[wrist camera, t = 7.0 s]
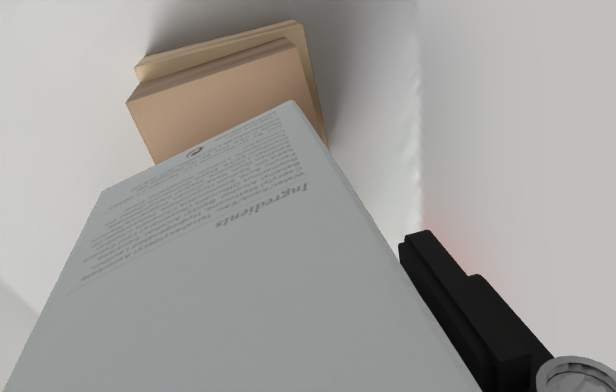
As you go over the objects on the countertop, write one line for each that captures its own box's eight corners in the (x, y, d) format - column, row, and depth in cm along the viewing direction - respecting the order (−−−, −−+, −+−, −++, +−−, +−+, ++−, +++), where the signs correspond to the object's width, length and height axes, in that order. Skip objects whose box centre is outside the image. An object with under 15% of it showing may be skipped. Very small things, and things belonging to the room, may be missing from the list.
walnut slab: (138, 84, 24) (125, 103, 20) (284, 36, 24) (296, 46, 20) (197, 211, 27) (195, 246, 24) (323, 168, 28) (339, 197, 24)
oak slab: (145, 56, 27) (133, 67, 23) (291, 18, 27) (303, 24, 24) (194, 188, 31) (192, 215, 27) (321, 153, 31) (334, 176, 28)
